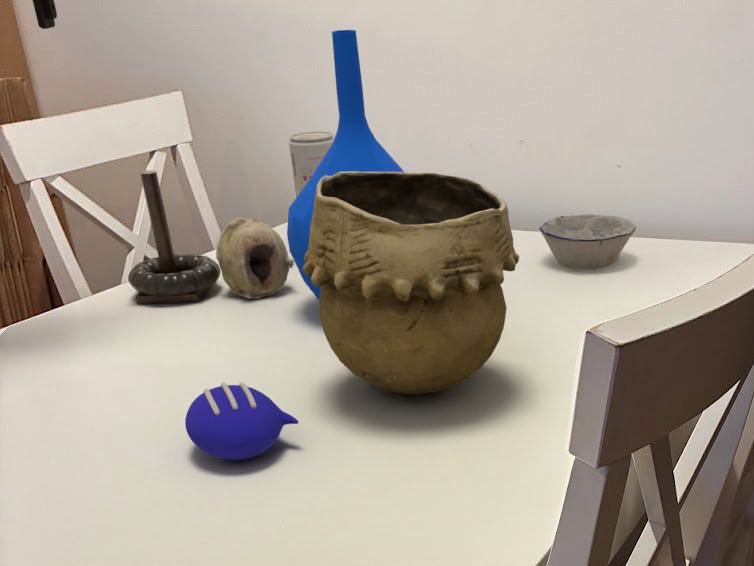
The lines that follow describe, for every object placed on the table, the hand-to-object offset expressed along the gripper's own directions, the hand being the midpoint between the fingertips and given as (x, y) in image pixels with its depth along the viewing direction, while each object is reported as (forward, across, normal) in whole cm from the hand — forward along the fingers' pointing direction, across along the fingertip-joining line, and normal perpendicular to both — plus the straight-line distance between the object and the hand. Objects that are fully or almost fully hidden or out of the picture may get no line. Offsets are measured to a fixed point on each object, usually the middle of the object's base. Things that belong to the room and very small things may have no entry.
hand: (1, 28), depth 103 cm
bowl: (+31, -65, -20) cm, 75 cm away
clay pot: (+31, -42, +23) cm, 58 cm away
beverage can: (+31, -27, -34) cm, 54 cm away
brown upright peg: (+32, -9, -13) cm, 35 cm away
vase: (+31, -36, -4) cm, 48 cm away
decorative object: (+32, -26, +36) cm, 55 cm away
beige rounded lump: (+32, -21, -12) cm, 40 cm away
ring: (+29, -10, -13) cm, 33 cm away
